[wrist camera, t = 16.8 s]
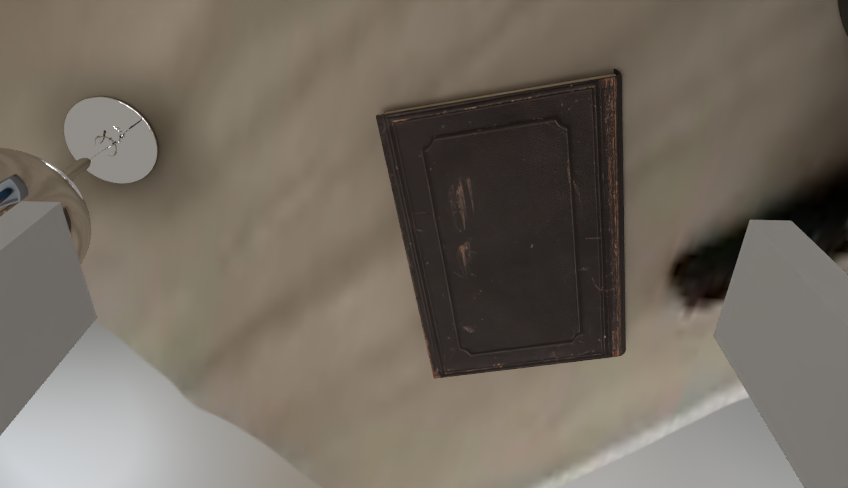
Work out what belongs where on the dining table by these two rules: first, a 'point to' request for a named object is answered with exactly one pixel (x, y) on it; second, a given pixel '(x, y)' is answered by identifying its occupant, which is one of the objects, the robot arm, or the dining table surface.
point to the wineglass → (82, 162)
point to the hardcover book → (514, 224)
